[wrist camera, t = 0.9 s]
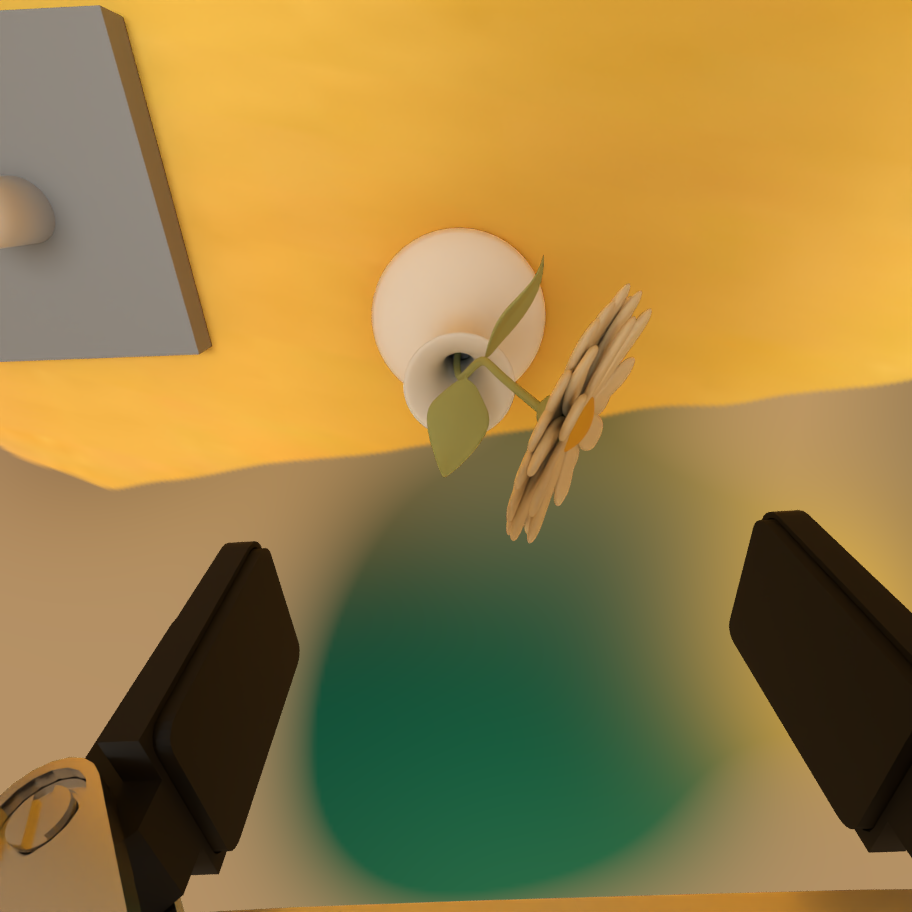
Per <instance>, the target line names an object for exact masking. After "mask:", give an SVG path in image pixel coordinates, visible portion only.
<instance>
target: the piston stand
mask: <svg viewBox="0 0 912 912" xmlns="http://www.w3.org/2000/svg"><path fill="white" fill-rule="evenodd" d="M211 346H212V345H211V341H210V338H209V334H208V330H207V327H206V323H205V319H204V315H203V312H202V308H201V304H200V301H199V297H198V293H197V290H196V286H195V282H194V278H193V275H192V271H191V267H190V264H189V260H188V256H187V253H186V249H185V245H184V242H183V238H182V234H181V230H180V227H179V223H178V219H177V216H176V212H175V208H174V205H173V201H172V197H171V193H170V190H169V186H168V182H167V179H166V175H165V171H164V168H163V164H162V160H161V157H160V153H159V149H158V145H157V142H156V138H155V134H154V131H153V127H152V123H151V120H150V116H149V112H148V108H147V105H146V101H145V97H144V94H143V90H142V86H141V83H140V79H139V75H138V71H137V68H136V64H135V60H134V57H133V53H132V49H131V46H130V42H129V38H128V35H127V31H126V27H125V23H124V20H123V17H122V16H120V15H118V14H116V13H114V12H112V11H110V10H108V9H106V8H104V7H102V6H100V5H99V6H79V7H59V8H40V9H20V10H1V11H0V362H7V361H33V360H60V359H87V358H113V357H140V356H167V355H193V354H200V353H202V352H203V351H205V350H206V349H208V348H209V347H211Z"/></svg>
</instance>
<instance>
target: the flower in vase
mask: <svg viewBox="0 0 912 912" xmlns="http://www.w3.org/2000/svg"><path fill="white" fill-rule="evenodd" d="M543 267H544V255H543V258H542V262H541V264H540V267H539V269H538V271H537V273H536V275H535V273H534V271H533V269H532V267H531V266H530V265H529V263H528V262H527V261H526V259H525V258H524V257H523V256H522V255H521V254H520V253H519V252H518V251H517V250H516V249H515V248H514V247H512V246H511V245H510V244H509V243H507V242H506V241H504V240H502V239H500V238H499V237H497V236H495V235H492V234H490V233H487V232H484V231H480V230H476V229H470V228H447V229H442V230H436V231H434V232H431V233H428V234H425V235H423V236H421V237H419V238H417V239H415V240H413V241H412V242H411V243H409V244H408V245H406V246H405V247H404V248H402V249H401V250H400V251H399V252H398V253H397V254H396V255H395V256H394V257H393V259H392V260H391V261H390V262H389V264H388V265H387V266H386V268H385V270H384V271H383V273H382V275H381V277H380V279H379V282H378V284H377V286H376V290H375V293H374V297H373V304H372V327H373V334H374V338H375V341H376V344H377V347H378V350H379V352H380V354H381V356H382V358H383V360H384V361H385V363H386V364H387V366H388V367H389V369H390V370H391V371H392V372H393V374H394V375H395V376H396V377H397V378H398V379H399V380H400V381H401V382H403V389H404V396H405V400H406V403H407V405H408V408H409V409H410V411H411V413H412V414H413V416H414V417H415V418H416V419H417V420H418V421H419V422H420V423H421V424H422V425H423V426H424V427H426V428H427V429H428V433H429V438H430V442H431V446H432V449H433V452H434V456H435V459H436V462H437V464H438V467H439V469H440V472H441V474H442V476H443V477H446V476H448V475H449V474H451V473H452V472H453V471H455V470H456V469H457V468H458V467H459V466H460V465H461V464H463V463H464V461H465V460H466V459H467V458H468V457H469V456H470V455H471V454H472V453H473V452H474V450H475V449H476V448H477V447H478V445H479V444H480V442H481V441H482V439H483V437H484V436H485V434H486V432H487V431H488V430H490V429H491V428H493V427H494V426H495V425H497V424H498V423H499V422H500V421H501V420H502V419H503V418H504V416H505V415H506V414H507V412H508V410H509V409H510V406H511V404H512V402H513V398H514V394H516V395H517V396H518V397H519V398H521V399H522V400H523V401H524V402H525V403H527V404H528V405H529V406H530V407H531V408H533V409H534V410H535V411H536V412H537V424H536V426H535V428H534V431H533V433H532V435H531V437H530V440H529V442H528V447H527V448H528V450H527V452H526V454H525V456H524V458H523V460H522V463H521V465H520V467H519V469H518V472H517V475H516V477H515V481H514V489H513V491H512V494H511V497H510V500H509V504H508V507H507V517H506V520H507V526H506V527H507V528H506V532H507V534H508V535H510V537H511V539H512V540H513V541H514V540H516V539H517V538H518V536H519V535H520V533H521V531H522V528H523V526H524V524H525V532H526V533H527V538H528V542H529V543H531V542H533V541H534V539H535V538H536V537H537V534H538V532H539V530H540V528H541V525H542V523H543V520H544V517H545V514H546V511H547V508H548V505H549V502H550V499H551V496H552V493H553V491H554V502H555V504H556V505H557V506H559V505H560V504H561V503H562V502H563V500H564V499H565V497H566V495H567V493H568V490H569V487H570V484H571V479H572V474H573V468H574V467H575V464H576V462H577V459H578V455H579V447H580V448H581V449H582V450H586V451H587V450H590V449H592V448H593V447H594V446H595V445H596V443H597V441H598V439H599V437H600V435H601V433H602V429H603V423H602V420H601V418H600V416H599V414H600V413H601V412H602V411H603V410H604V408H605V407H606V405H607V403H608V401H609V398H610V396H611V395H612V394H613V393H614V392H615V391H616V390H617V389H618V388H619V387H620V386H621V384H622V383H623V382H624V381H625V380H626V378H627V377H628V375H629V374H630V372H631V370H632V367H633V365H634V362H635V359H634V358H633V357H630V358H627V359H625V360H624V361H623V362H621V361H622V359H623V358H624V357H625V355H626V354H627V352H628V351H629V350H630V348H631V347H632V345H633V344H634V343H635V341H636V340H637V338H638V337H639V335H640V334H641V332H642V331H643V329H644V328H645V326H646V324H647V323H648V321H649V319H650V316H651V313H652V311H651V309H647V310H646V311H644V312H643V313H642V314H641V315H640V316H639V317H638V318H637V319H636V317H635V316H634V317H631V316H632V314H633V312H634V310H635V308H636V307H637V305H638V303H639V301H640V299H641V296H642V291H638V292H636V293H635V294H634V295H633V296H629V297H628V298H626V297H627V295H628V293H629V290H630V284H626V285H625V286H623V287H622V288H621V289H620V290H619V291H618V293H617V294H616V295H615V296H614V298H613V299H612V300H611V302H610V303H609V304H607V305H606V306H605V307H604V308H603V310H602V311H601V312H600V313H599V315H598V316H597V318H596V319H595V320H594V321H593V322H592V323H591V324H590V325H589V327H588V328H587V329H586V331H585V332H584V334H583V335H582V337H581V338H580V340H579V341H578V343H577V345H576V346H575V348H574V350H573V352H572V354H571V356H570V358H569V361H568V363H567V365H566V368H565V371H564V373H563V374H562V376H561V377H560V379H559V381H558V382H557V384H556V386H555V388H554V389H553V391H552V393H551V395H549V396H547V397H546V398H545V399H544V400H542V401H541V402H539V401H538V400H537V399H536V398H534V397H533V396H532V395H531V394H529V393H528V392H527V391H526V390H524V389H523V388H522V387H521V386H519V385H518V384H517V383H516V381H517V380H518V379H519V378H520V377H521V376H522V375H523V374H524V372H525V371H526V370H527V369H528V367H529V366H530V364H531V363H532V361H533V360H534V358H535V356H536V354H537V352H538V350H539V347H540V345H541V341H542V338H543V334H544V328H545V315H546V312H545V301H544V297H543V292H542V289H541V286H540V283H541V279H542V274H543ZM620 362H621V363H620Z"/></svg>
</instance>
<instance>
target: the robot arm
mask: <svg viewBox="0 0 912 912" xmlns="http://www.w3.org/2000/svg"><path fill="white" fill-rule="evenodd" d="M729 628H730V629H729V630H730V635H731V637H732V640H733V642H734V644H735V646H736V647H737V649H738V650H739V652H740V654H741V656H742V657H743V659H744V661H745V662H746V664H747V665H748V667H749V669H750V670H751V672H752V674H753V676H754V677H755V679H756V681H757V682H758V684H759V686H760V687H761V689H762V691H763V692H764V694H765V696H766V697H767V699H768V700H769V702H770V704H771V706H772V707H773V709H774V711H775V712H776V714H777V716H778V717H779V719H780V721H781V722H782V724H783V726H784V727H785V729H786V731H787V732H788V734H789V736H790V738H791V739H792V741H793V743H794V744H795V746H796V748H797V749H798V751H799V753H800V754H801V756H802V758H803V759H804V761H805V763H806V764H807V766H808V767H809V769H810V771H811V772H812V774H813V776H814V778H815V779H816V781H817V783H818V784H819V786H820V788H821V789H822V791H823V793H824V794H825V796H826V798H827V799H828V801H829V802H830V804H831V806H832V808H833V809H834V811H835V813H836V814H837V816H838V817H839V819H840V820H841V821H842V823H843V824H844V825H845V826H846V827H848V828H850V829H855V831H856V832H857V834H858V836H859V837H860V839H861V841H862V842H863V843H864V845H865V847H866V849H867V850H868V852H897V851H906V850H907V852H908V853H909V854H910V856H911V857H912V613H911V612H910V611H909V610H908V609H907V608H906V607H905V606H904V605H903V604H902V603H901V602H900V601H899V600H898V599H896V598H895V597H894V596H893V595H892V594H891V593H890V592H889V591H888V590H887V589H886V588H885V587H884V586H883V585H882V584H881V583H880V582H879V581H878V580H876V579H875V578H874V577H873V576H872V575H871V574H870V573H869V572H868V571H867V570H866V569H865V568H864V567H863V566H862V565H861V564H860V563H859V562H858V561H857V560H856V559H854V558H853V557H852V556H851V555H850V554H849V553H848V552H847V551H846V550H845V549H844V548H843V547H842V546H841V545H840V544H839V543H838V542H837V541H836V540H835V539H833V538H832V537H831V536H830V535H829V534H828V533H827V532H826V531H825V530H824V529H823V528H822V527H821V526H820V525H819V524H818V523H817V522H815V520H813V519H812V518H811V517H810V516H809V515H808V514H807V513H805V512H804V511H800V510H795V511H778V512H768V513H766V514H765V515H764V516H763V519H762V520H759V521H757V522H756V523H755V525H754V527H753V531H752V535H751V539H750V543H749V547H748V551H747V555H746V559H745V562H744V566H743V570H742V574H741V578H740V582H739V586H738V590H737V594H736V598H735V602H734V606H733V610H732V614H731V618H730V623H729ZM298 660H299V643H298V640H297V636H296V633H295V630H294V627H293V624H292V620H291V617H290V614H289V611H288V607H287V605H286V601H285V598H284V595H283V591H282V588H281V585H280V582H279V579H278V576H277V572H276V569H275V566H274V563H273V559H272V556H271V553H270V551H269V550H268V549H266V548H263V549H262V548H261V545H260V544H259V543H258V542H255V541H253V542H237V543H227V544H225V545H224V546H223V547H222V548H221V550H220V551H219V553H218V554H217V556H216V558H215V560H214V561H213V563H212V564H211V565H210V567H209V569H208V570H207V572H206V573H205V575H204V576H203V578H202V579H201V581H200V583H199V584H198V586H197V587H196V589H195V590H194V592H193V594H192V595H191V597H190V598H189V600H188V601H187V603H186V605H185V606H184V608H183V609H182V611H181V612H180V614H179V616H178V617H177V618H176V619H175V621H174V622H173V623H172V624H171V626H170V627H169V629H168V630H167V632H166V633H165V635H164V637H163V638H162V640H161V641H160V643H159V644H158V646H157V647H156V649H155V651H154V652H153V654H152V655H151V657H150V658H149V660H148V661H147V663H146V665H145V666H144V668H143V669H142V671H141V672H140V674H139V675H138V677H137V679H136V680H135V682H134V683H133V685H132V686H131V688H130V689H129V691H128V693H127V694H126V696H125V697H124V699H123V700H122V702H121V703H120V705H119V707H118V708H117V710H116V711H115V713H114V714H113V716H112V717H111V719H110V721H109V722H108V724H107V725H106V727H105V728H104V730H103V731H102V733H101V735H100V736H99V738H98V739H97V741H96V742H95V744H94V745H93V747H92V748H91V750H90V752H89V753H88V755H87V756H86V758H77V757H68V758H64V759H60V760H56V761H52V762H50V763H48V764H46V765H43V766H41V767H39V768H37V769H35V770H33V771H31V772H30V773H28V774H27V775H25V776H24V777H22V778H21V779H19V780H18V781H16V782H15V783H13V784H12V785H11V786H10V787H9V788H8V789H7V790H6V791H5V792H3V793H2V794H1V795H0V912H184V909H183V905H182V901H181V898H180V897H181V896H182V895H183V894H184V891H185V889H186V886H187V884H188V881H189V879H190V876H191V875H205V874H219V872H220V869H221V866H222V863H223V860H224V857H225V855H226V852H227V851H232V850H233V849H234V848H235V847H236V846H237V844H238V842H239V839H240V837H241V833H242V831H243V828H244V825H245V822H246V819H247V816H248V813H249V810H250V807H251V804H252V800H253V797H254V795H255V792H256V788H257V785H258V782H259V779H260V776H261V773H262V770H263V767H264V764H265V761H266V758H267V755H268V752H269V749H270V746H271V743H272V740H273V737H274V734H275V730H276V728H277V725H278V722H279V719H280V716H281V713H282V710H283V707H284V704H285V701H286V697H287V694H288V691H289V688H290V685H291V682H292V679H293V676H294V673H295V670H296V667H297V664H298ZM218 912H912V889H909V890H908V889H903V890H901V889H900V890H898V889H897V890H895V889H894V890H835V891H797V892H756V893H717V894H679V895H645V896H613V897H612V896H611V897H580V898H579V897H578V898H548V899H547V898H546V899H514V900H482V901H452V902H427V903H399V904H398V903H397V904H370V905H343V906H315V907H289V908H270V909H254V910H235V911H218Z"/></svg>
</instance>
